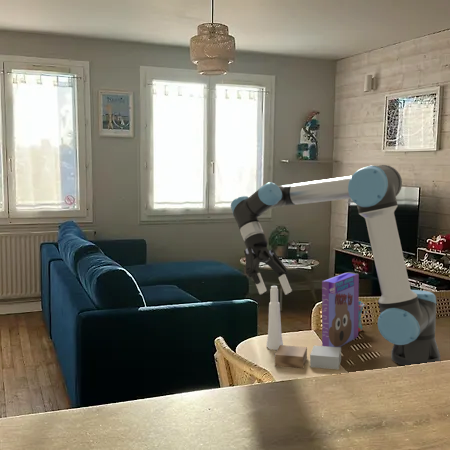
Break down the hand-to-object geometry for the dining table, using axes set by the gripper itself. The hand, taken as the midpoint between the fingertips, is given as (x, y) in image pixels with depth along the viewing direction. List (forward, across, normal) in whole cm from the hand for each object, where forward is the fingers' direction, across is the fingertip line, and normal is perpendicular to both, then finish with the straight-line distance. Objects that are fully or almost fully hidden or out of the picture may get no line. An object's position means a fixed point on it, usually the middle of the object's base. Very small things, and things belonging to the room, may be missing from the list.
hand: (276, 292), depth 187 cm
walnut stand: (+22, -4, -7) cm, 23 cm away
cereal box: (+18, -30, -3) cm, 35 cm away
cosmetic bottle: (+13, -11, -17) cm, 24 cm away
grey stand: (+26, -10, 0) cm, 28 cm away
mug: (+14, -45, -4) cm, 47 cm away
